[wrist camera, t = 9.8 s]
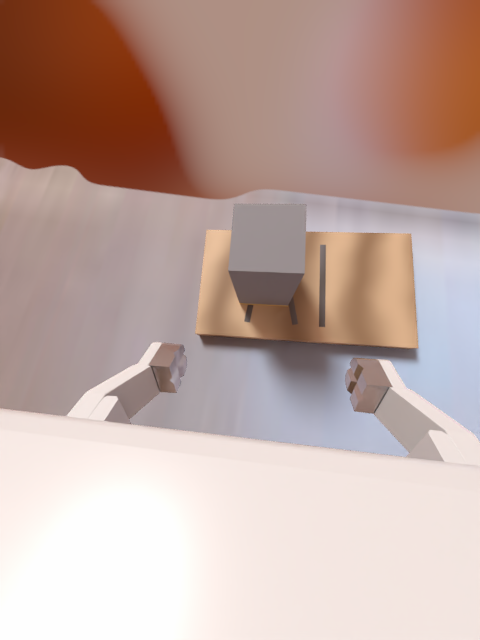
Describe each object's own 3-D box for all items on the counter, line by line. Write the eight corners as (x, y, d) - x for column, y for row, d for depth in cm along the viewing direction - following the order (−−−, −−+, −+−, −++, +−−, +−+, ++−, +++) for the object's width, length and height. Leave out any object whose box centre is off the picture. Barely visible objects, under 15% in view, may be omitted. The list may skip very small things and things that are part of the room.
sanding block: (289, 261, 24) (306, 204, 15) (287, 306, 23) (304, 273, 14) (243, 260, 25) (234, 203, 16) (239, 304, 24) (228, 270, 15)
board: (402, 241, 25) (411, 233, 23) (407, 348, 23) (418, 348, 21) (209, 236, 27) (206, 229, 26) (198, 335, 25) (195, 333, 24)
